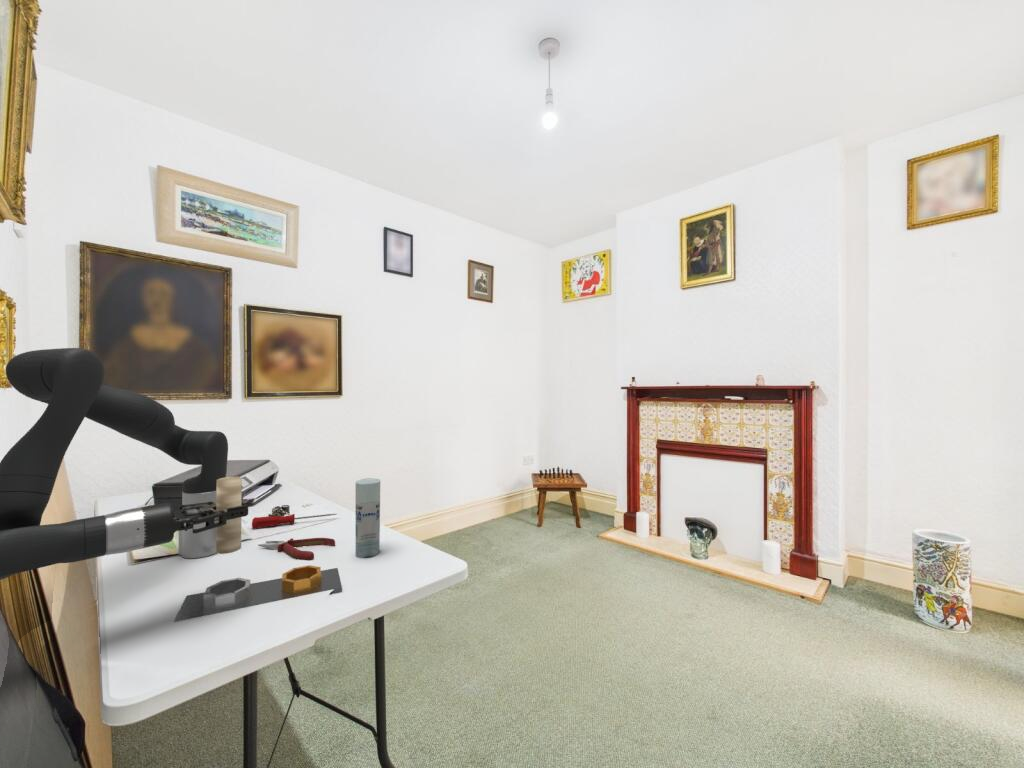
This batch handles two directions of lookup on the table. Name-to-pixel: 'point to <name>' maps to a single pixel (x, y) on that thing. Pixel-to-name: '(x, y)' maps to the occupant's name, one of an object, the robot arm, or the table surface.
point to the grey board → (259, 591)
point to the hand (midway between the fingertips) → (243, 507)
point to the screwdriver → (277, 520)
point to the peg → (231, 531)
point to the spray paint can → (367, 517)
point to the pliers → (295, 553)
